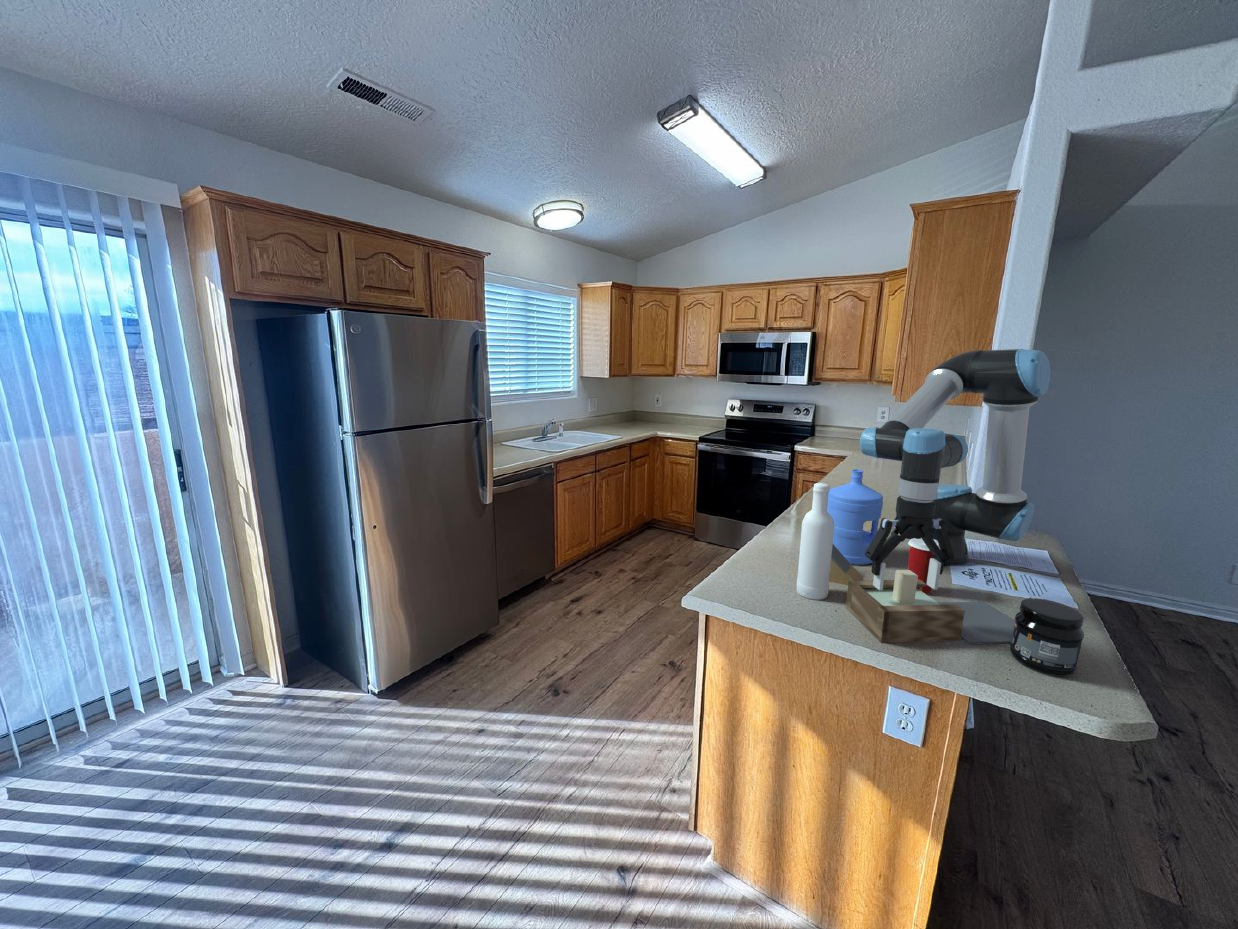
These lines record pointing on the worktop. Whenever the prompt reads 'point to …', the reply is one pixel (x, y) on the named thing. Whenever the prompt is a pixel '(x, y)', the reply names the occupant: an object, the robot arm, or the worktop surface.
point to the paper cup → (920, 561)
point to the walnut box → (903, 616)
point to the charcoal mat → (984, 623)
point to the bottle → (816, 547)
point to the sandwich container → (842, 569)
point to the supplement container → (1047, 636)
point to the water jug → (854, 517)
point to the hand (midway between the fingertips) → (904, 587)
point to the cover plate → (891, 602)
